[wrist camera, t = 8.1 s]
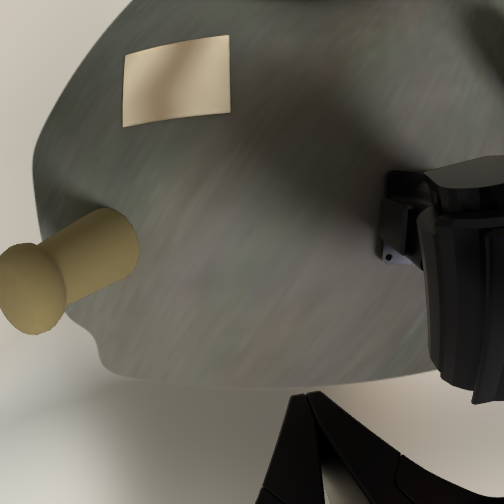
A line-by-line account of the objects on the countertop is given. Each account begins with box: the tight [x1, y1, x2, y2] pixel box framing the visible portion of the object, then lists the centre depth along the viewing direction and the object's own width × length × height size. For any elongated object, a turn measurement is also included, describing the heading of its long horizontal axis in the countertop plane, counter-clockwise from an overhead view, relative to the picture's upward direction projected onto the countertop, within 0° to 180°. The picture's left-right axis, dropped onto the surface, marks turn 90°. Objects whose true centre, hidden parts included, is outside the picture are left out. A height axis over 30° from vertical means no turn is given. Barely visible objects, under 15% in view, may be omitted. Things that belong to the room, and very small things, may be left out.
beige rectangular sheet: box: [123, 35, 231, 127], centre depth 17 cm, size 8×6×1 cm
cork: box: [0, 208, 139, 335], centre depth 16 cm, size 6×6×11 cm
